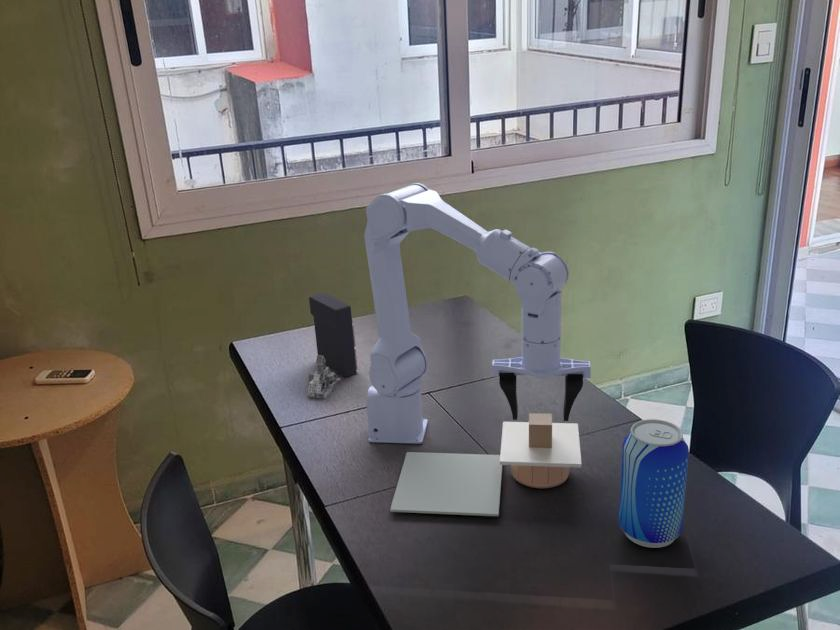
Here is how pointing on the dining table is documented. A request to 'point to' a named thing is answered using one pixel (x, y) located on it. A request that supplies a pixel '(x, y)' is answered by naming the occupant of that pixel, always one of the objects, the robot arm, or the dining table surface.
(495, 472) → the mat
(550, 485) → the bowl
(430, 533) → the dining table surface
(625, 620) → the dining table surface
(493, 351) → the dining table surface
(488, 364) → the dining table surface
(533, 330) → the robot arm
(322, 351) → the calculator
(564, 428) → the cover sheet
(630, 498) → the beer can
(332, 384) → the grey crystal cluster
